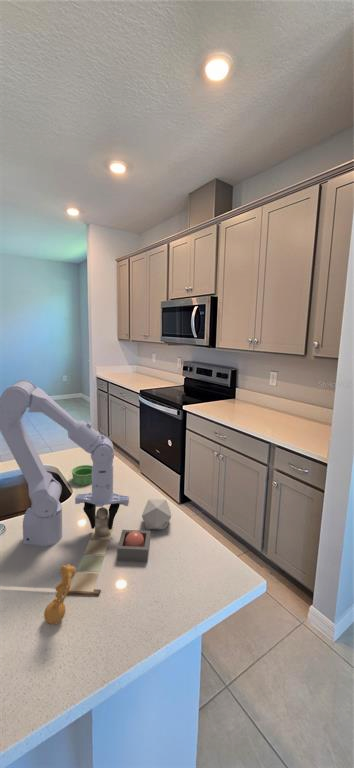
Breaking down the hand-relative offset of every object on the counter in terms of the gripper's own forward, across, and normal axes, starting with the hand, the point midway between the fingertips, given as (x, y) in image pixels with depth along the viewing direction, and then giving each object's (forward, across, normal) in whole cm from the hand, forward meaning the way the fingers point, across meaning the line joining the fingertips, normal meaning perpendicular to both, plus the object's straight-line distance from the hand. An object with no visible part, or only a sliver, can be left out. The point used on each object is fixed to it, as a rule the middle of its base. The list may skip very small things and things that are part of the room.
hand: (102, 527), depth 92 cm
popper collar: (+2, +10, -7) cm, 12 cm away
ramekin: (+3, -14, +32) cm, 35 cm away
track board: (+2, 0, -9) cm, 9 cm away
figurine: (+3, -2, -27) cm, 27 cm away
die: (+3, +15, +5) cm, 16 cm away
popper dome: (+2, +10, -7) cm, 12 cm away
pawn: (+2, 0, 0) cm, 2 cm away
